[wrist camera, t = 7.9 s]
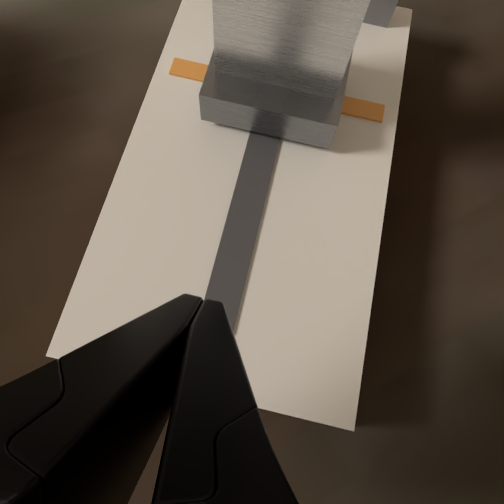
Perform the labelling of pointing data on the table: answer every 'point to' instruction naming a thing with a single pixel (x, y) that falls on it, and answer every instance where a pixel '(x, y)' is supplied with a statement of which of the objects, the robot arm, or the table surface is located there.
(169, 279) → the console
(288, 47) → the fader
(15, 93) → the table surface
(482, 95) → the table surface
